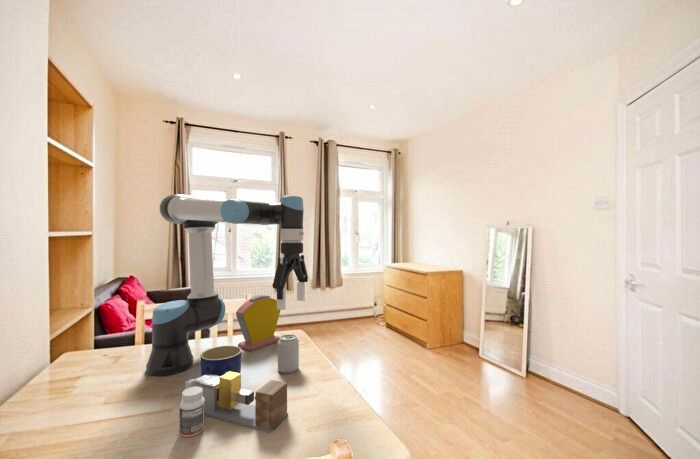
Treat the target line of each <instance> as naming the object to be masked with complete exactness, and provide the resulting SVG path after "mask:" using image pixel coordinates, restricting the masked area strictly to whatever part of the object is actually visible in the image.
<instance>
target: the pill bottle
mask: <svg viewBox="0 0 700 459" xmlns="http://www.w3.org/2000/svg"><path fill="white" fill-rule="evenodd" d="M202 394H203V389H202V388H201V387H190V388H188V389H183V391H182V392H181V399H182V400H181V402H180V403H179V434H180V436H182V437H185V438H191V437H194V436H197V435H199V434H200V433H202V432H203V431H204V429H205V427H206V416H205V398H204V397H203V396H202Z"/></svg>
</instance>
